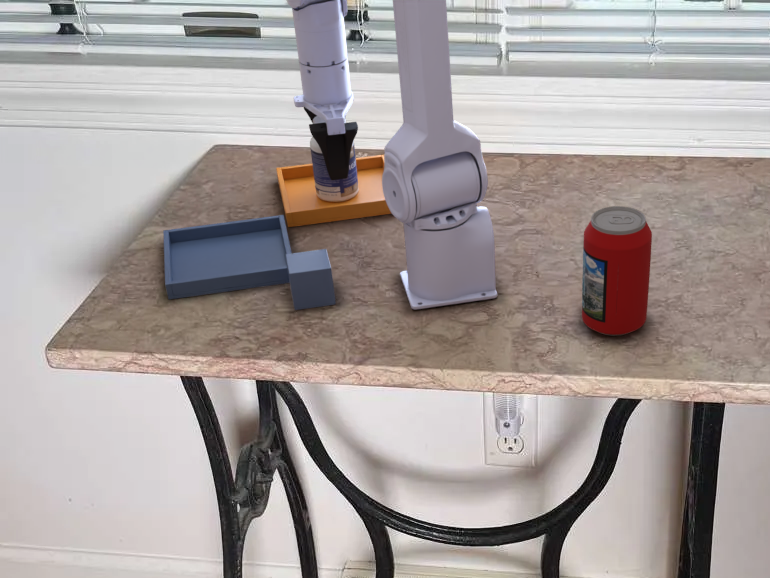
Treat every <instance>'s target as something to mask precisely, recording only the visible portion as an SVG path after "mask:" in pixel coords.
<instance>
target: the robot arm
mask: <svg viewBox="0 0 770 578" xmlns="http://www.w3.org/2000/svg"><path fill="white" fill-rule="evenodd" d="M286 2H287V4H288V5H289V7H291V13H292V19H293V26H294V35H295V43H296V50H297V57H298V65H299V73H300V81H301V89H302V94H300V95H295V96H293V103H294V106H295V108H303V110H304V112H305V113H306V115H307V116H308V117H309V120H310V121H311V123H309V124H308V128H309V131H310V134H311V136H312V137H313V138H314V139H315V140H316V142H317V143H318V145H319V147H320V149H321V151H322V154H323V157H324V161H325V164H326V168H327V171H328V174H329V177H330V179H331V180H339V179H347V178H348V173H349V164H350V153H351V148H352V144H353V141H354V142H355V138H356V136H357V134H358V130H359V125H358V122H357V121H350V122H346V123H344V118H346V116H347V114H348V112H349V110H350V108H351V107H352V105H353V103H354V100H355V99H354V92H353V91H352V85H351V76H350V75H351V74H350V66H349V56H348V47H347V36H346V28H345V27H346V26H345V17H346V16H347V15H348V0H286ZM392 7H393V8H392V10H393V19H394V21H393V22H394V31H395V40H396V41H395V43H396V54H397V62H398V63H397V66H398V77H399V78H398V79H399V89H400V98H401V110H402V125H401V126H400V127H399V129H398V130H396V132H395V134H393V136H392V137H391V138H390V139H389V141H388V142H387V143H386V144H385V146H384V149H383V150H384V154H383V155H384V172H383V176H382V187H383V193H384V197H385V200H386V203H387V205H388V208H389V210H390V211H391V213H392V214H391V215H392V216H393V217H394V218H395V219H397V220H398V221H399V222H400V223H402V224H403V233H404V246H405V259H406V270H402V271H400V272H399V278H400V280H401V283H402V286H403V289H404V291H405V294H406V297H407V300H408V302H409V306H410V309H412V310H421V309H422V310H423V309H429V308H436V307H443V306H451V305H458V304H464V303H465V304H466V303H471V302H478V301H485V300H491V299H496V298H497V297H498V291H497V284H496V279H497V278H496V277H497V276H496V248H495V247H496V245H495V232H494V227H493V221H492V217H491V214H490V210H489V209H488V208H487V207H486V206H478V203H481V202H482V201H483V200H484V199H485V197H486V194H487V191H488V185H489V177H488V170H487V166H486V164H485V160H484V158H483V157H484V156H483V152H482V144H481V140H480V139H479V137H478V136H477V135H476V133H475V132H474V131H473V130H472V129H470V128H469V127H467V126H466V125H464V124H462V123H460V122H458V121H456V120H455V119H454V107H453V91H452V74H451V57H450V42H449V41H450V40H449V27H448V26H449V25H448V11H447V9H448V8H447V0H392ZM316 116H318V117H320V118H321V119H323V120H324V121H325V123H316V124H313V119H314V117H316Z"/></svg>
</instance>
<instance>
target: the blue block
mask: <svg viewBox="0 0 770 578" xmlns="http://www.w3.org/2000/svg"><path fill="white" fill-rule="evenodd" d="M285 257H286V263H287V270H288V276H289V283H288V284H289V289H290V294H291V298H292V299H291V300H292V304H293V309H294V311H299V310H300V311H301V310H306V309H313V308H321V307H327V306H336V304H337V302H336V296H335V295H336V294H335V287H334V286H335V285H334V279H333V271H332V265H331V262H330V258H329V253H328V250H327V248H322V249H321V248H320V249H315V250H314V249H313V250H307V251H300V252H291V254H286V255H285Z"/></svg>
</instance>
